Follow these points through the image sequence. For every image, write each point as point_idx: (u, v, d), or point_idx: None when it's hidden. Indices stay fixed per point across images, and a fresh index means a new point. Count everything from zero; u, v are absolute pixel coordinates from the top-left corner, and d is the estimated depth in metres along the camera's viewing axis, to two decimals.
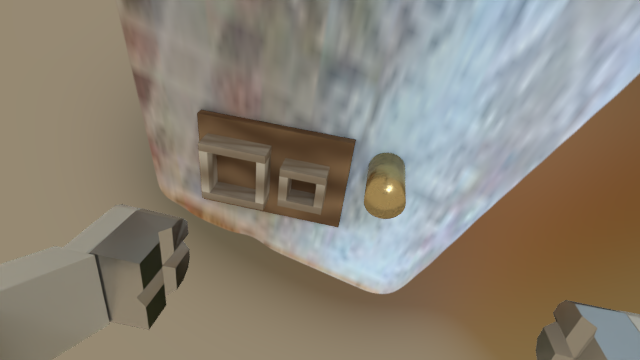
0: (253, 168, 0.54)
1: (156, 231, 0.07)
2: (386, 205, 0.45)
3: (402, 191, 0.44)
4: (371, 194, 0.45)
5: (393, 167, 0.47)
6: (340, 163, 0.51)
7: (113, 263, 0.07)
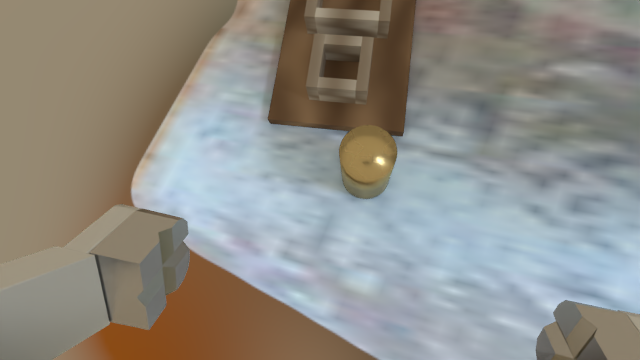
0: None
1: (156, 231, 0.07)
2: (363, 154, 0.32)
3: (385, 175, 0.32)
4: (379, 133, 0.32)
5: (390, 174, 0.36)
6: (372, 117, 0.40)
7: (113, 263, 0.07)
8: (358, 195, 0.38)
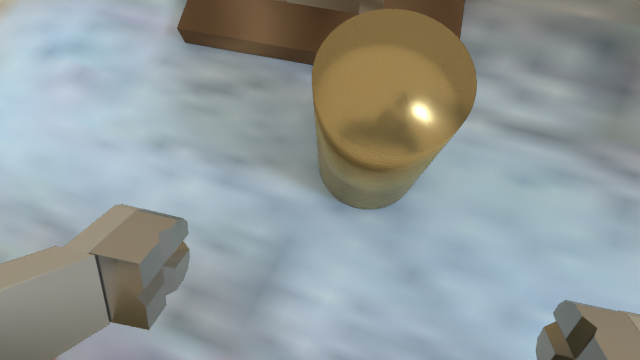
0: None
1: (156, 231, 0.07)
2: (379, 83, 0.11)
3: (438, 148, 0.11)
4: (427, 32, 0.12)
5: None
6: None
7: (113, 263, 0.07)
8: (350, 200, 0.17)
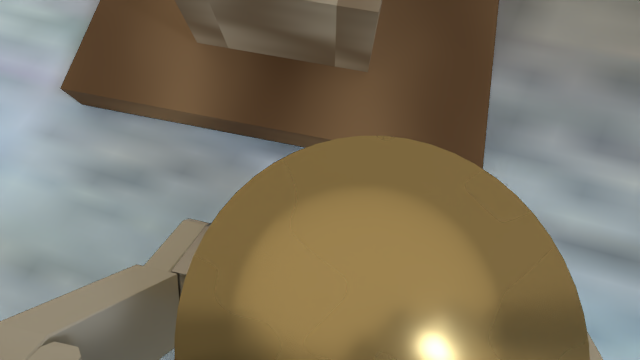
0: None
1: None
2: (344, 345, 0.04)
3: None
4: (460, 198, 0.05)
5: None
6: (384, 111, 0.13)
7: None
8: None
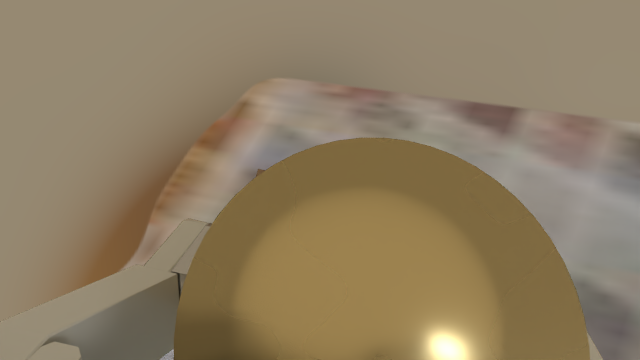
0: None
1: None
2: (343, 348, 0.04)
3: None
4: (461, 201, 0.05)
5: None
6: None
7: None
8: None
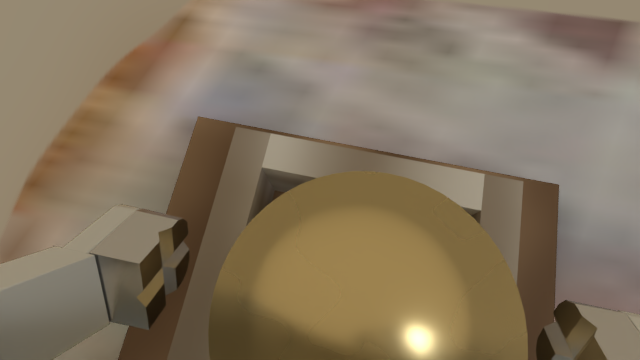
0: None
1: (156, 231, 0.07)
2: (338, 338, 0.06)
3: None
4: (430, 222, 0.06)
5: None
6: None
7: (113, 263, 0.07)
8: None
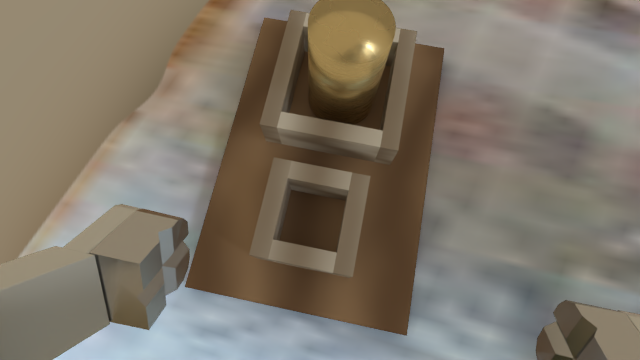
0: None
1: (156, 231, 0.07)
2: (344, 28, 0.21)
3: (377, 62, 0.21)
4: (369, 1, 0.21)
5: None
6: (357, 301, 0.24)
7: (113, 263, 0.07)
8: (331, 118, 0.27)
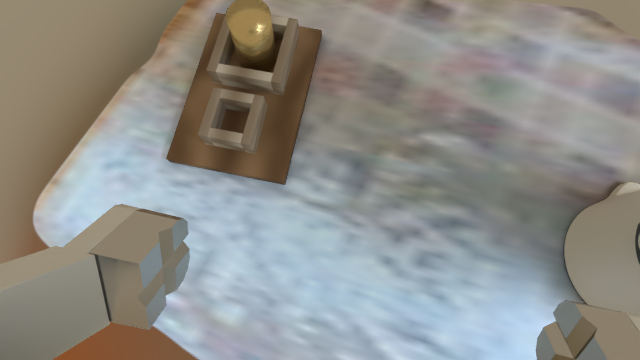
0: None
1: (156, 231, 0.07)
2: (244, 17, 0.41)
3: (262, 33, 0.42)
4: (257, 3, 0.42)
5: (273, 45, 0.46)
6: (258, 165, 0.45)
7: (113, 263, 0.07)
8: None
